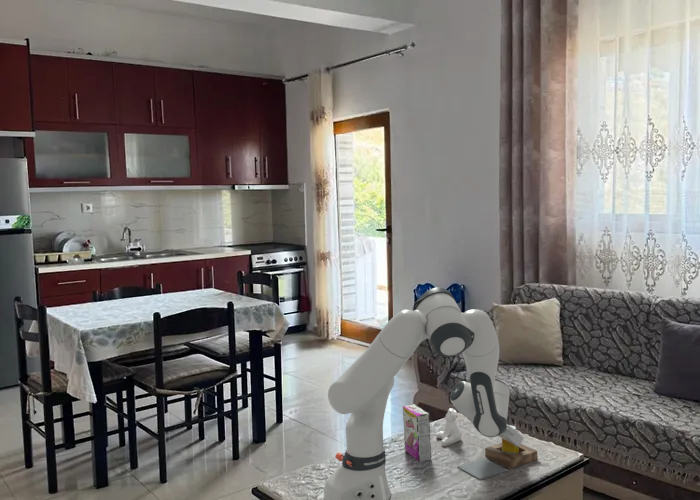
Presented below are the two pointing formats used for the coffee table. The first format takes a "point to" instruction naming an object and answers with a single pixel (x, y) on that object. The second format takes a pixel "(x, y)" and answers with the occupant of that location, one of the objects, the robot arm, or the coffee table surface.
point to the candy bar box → (417, 432)
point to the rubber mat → (482, 468)
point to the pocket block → (513, 460)
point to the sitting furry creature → (450, 429)
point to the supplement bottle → (509, 446)
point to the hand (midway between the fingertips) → (511, 440)
